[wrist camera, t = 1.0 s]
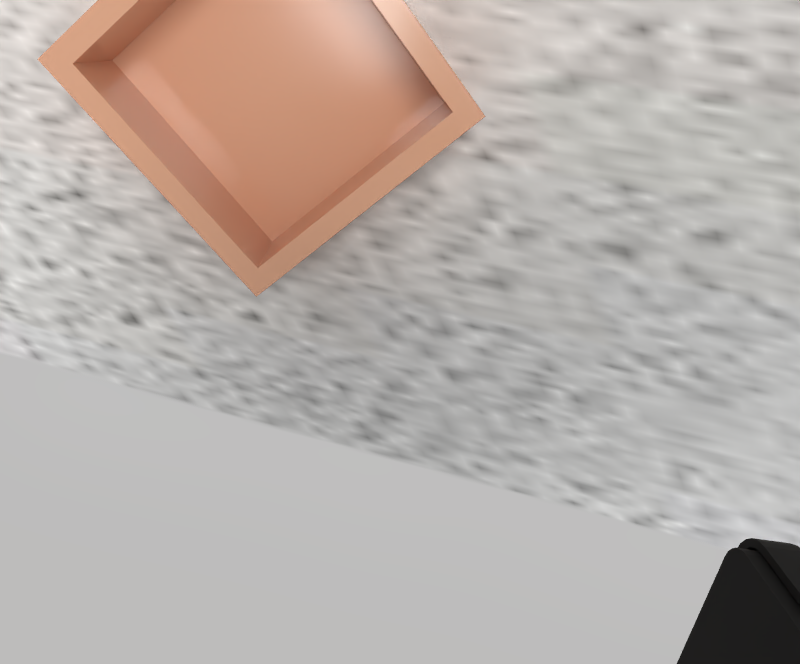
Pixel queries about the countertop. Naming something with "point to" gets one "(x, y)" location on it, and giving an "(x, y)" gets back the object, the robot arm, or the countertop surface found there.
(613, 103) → the countertop surface
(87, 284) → the countertop surface
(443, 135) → the salmon open box
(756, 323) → the countertop surface
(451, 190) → the countertop surface
